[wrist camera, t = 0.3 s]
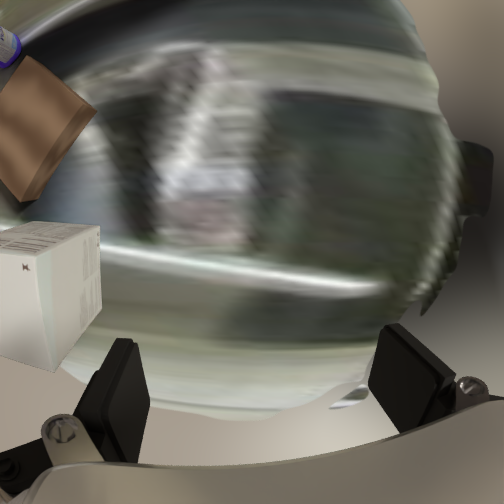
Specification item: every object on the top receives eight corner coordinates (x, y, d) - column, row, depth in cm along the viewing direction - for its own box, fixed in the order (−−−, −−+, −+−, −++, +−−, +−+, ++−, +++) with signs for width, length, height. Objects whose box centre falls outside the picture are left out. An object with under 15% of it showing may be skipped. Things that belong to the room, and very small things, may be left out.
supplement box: (31, 219, 36) (-43, 243, 19) (101, 224, 38) (35, 255, 21) (37, 298, 39) (-22, 348, 22) (103, 310, 41) (56, 375, 24)
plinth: (42, 64, 30) (26, 55, 25) (97, 111, 34) (83, 103, 29) (-10, 144, 32) (-28, 143, 27) (38, 198, 35) (20, 202, 31)
